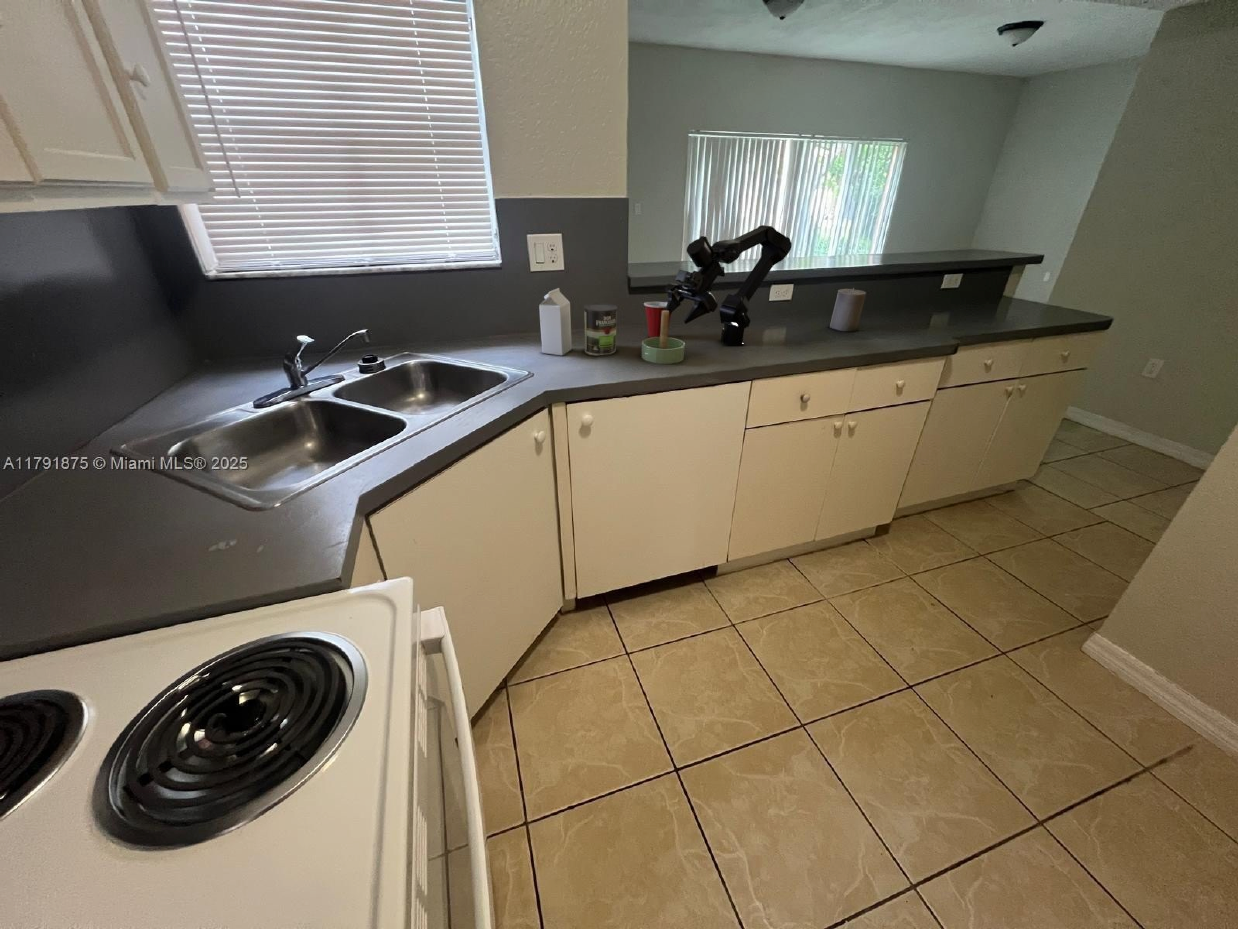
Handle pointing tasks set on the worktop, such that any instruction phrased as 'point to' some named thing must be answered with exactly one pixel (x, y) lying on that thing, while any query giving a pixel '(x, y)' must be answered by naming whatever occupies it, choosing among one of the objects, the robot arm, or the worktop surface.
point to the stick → (664, 329)
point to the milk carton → (555, 323)
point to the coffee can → (600, 328)
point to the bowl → (662, 350)
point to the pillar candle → (847, 309)
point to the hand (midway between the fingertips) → (674, 319)
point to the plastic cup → (655, 317)
